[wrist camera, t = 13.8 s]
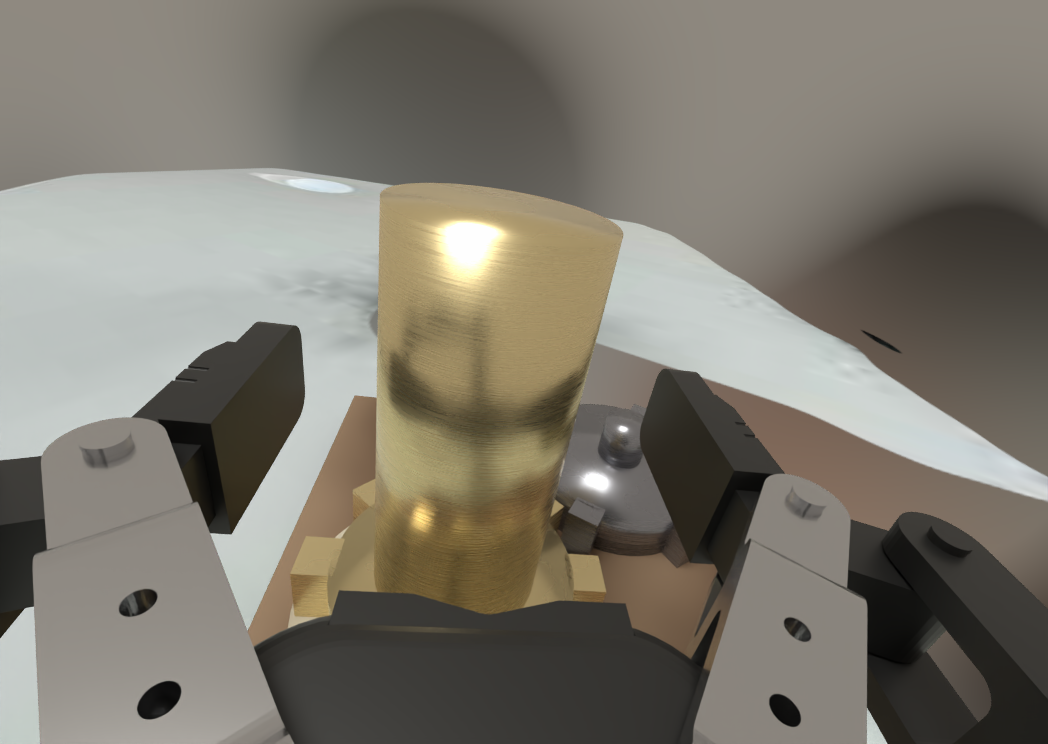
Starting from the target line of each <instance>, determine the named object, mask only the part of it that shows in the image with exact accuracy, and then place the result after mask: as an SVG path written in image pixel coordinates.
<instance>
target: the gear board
mask: <svg viewBox="0 0 1048 744" xmlns="http://www.w3.org/2000/svg"><path fill="white" fill-rule="evenodd" d="M376 412H377V398H374V397H364V396H354V398H353V401H352V403H351V405H350V407H349V409H348V412H347V414H346V416H345V418H344V420H343V423H342V425H341V427H340V429H339V431H338V434H337V436H336V438H335V440H334V442H333V445H332V447H331V449H330V451H329V453H328V456H327V458H326V460H325V462H324V464H323V467H322V469H321V471H320V473H319V475H318V478H317V480H316V482H315V484H314V486H313V489H312V491H311V493H310V495H309V497H308V500H307V502H306V504H305V506H304V508H303V511H302V513H301V515H300V517H299V519H298V522H297V524H296V526H295V528H294V530H293V533H292V535H291V537H290V539H289V541H288V544H287V546H286V548H285V550H284V552H283V555H282V557H281V559H280V561H279V563H278V566H277V568H276V570H275V572H274V574H273V577H272V579H271V581H270V583H269V585H268V588H267V590H266V592H265V594H264V596H263V599H262V601H261V603H260V605H259V607H258V610H257V612H256V614H255V616H254V618H253V621H252V623H251V625H250V627H249V629H248V634H249V637H250V639H251V642H252V645H253V647H254V646H255V645H257V644H258V643H260V642H262V641H263V640H265V639H267V638H269V637H271V636H273V635H275V634H277V633H278V632H280V631H283V630H285V629H288V628H290V627H292V626H295V625H297V624H299V623H303V622H306V621H309V620H312V619H316V618H319V617H300V616H295V615H294V606H293V597H292V588H291V579H290V573H291V570H292V568H293V566H294V563H295V561H296V558H297V556H298V554H299V551H300V549H301V547H302V544H303V542H304V540H305V537H306V536H310V537H325V538H340V539H341V537H342V536H343V534H344V533H345V531H346V530H347V529H348V527H349V526H350V525H351V524H352V523H353V489H355V488H357V487H359V486H361V485H363V484H366V483H368V482H370V481H372V480H374V479H375V473H376ZM557 534H558V535H559V537H560V539H561V536H562V532H561V531H560V530H558V531H557ZM567 553H568V552H567ZM590 555H594V556H598V557H599V562H600V566H601V570H602V575H603V579H604V584H605V588H606V595H605V597H604V600H603V602H605V603H626V607H627V610H628V614H629V618H630V622H631V625H632V628H635V629H638V630H640V631H643V632H645V633H648V634H650V635H652V636H655V637H657V638H658V639H660V640H662V641H664V642H666V643H668V644H670V645H671V646H673V647H674V648H676V649H677V650H679V651H680V652H682V653H683V654H685V651H686V649H687V646H688V643H689V641H690V638H691V635H692V633H693V630H694V627H695V625H696V622H697V619H698V617H699V614H700V612H701V609H702V606H703V604H704V601H705V598H706V596H707V593H708V590H709V588H710V585H711V583H712V581H713V579H714V577H715V575H716V573H717V569H716V567H715V565H714V564H698V563H690V562H687V563H685V564H683V565H682V566H680V567H678V568H676V567H675V566H674V565H673V564H672V563H671V562H670V561H669V560H668V559H667V558H666V557H665V556H664V555H663V554H662V553H658V554H654V555H647V556H625V555H616V554H612V553H607V552H603V551H600V550H597V549H594V548H593V549H592V551H591V553H590Z"/></svg>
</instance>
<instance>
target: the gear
mask: <svg viewBox="0 0 1048 744" xmlns="http://www.w3.org/2000/svg"><path fill="white" fill-rule="evenodd" d="M645 412H646V408H643V407H641V406H638V405H636V404H634V405H633V406H632V408H631V410H629V409H622V408H617V407H612V406H606V405H595V404H594V405H593V404H582V405H579V408H578V412H577V416H576V420H575V424H574V428H573V432H572V435H571V439H570V443H569V447H568V451H567V455H566V459H565V462H564V466H563V470H562V474H561V478H560V482H559V486H558V489H557V493H556V497H555V500H556V501H557V502H559V503H560V504H562V505H563V506H564V509H563V513H562V516H561V520H560V524H559V527H558V530H560V531H561V532H562V536H561V541H562V542H563V544H564V546H565V548H566V551H567V552H568V554H579V555H590V553H591V551H592V549H593V548H594V549H597V550H600V551H603V552H607V553H612V554H616V555H625V556H647V555H654V554H658V553H662V554H663V555H664V556H665V557H666V558H667V559H668V560H669V561H670V562H671V563H672V564H673V565H674V566H675V567H676V568H678V567H680V566H682V565H683V564H685V563H687V562H689V559H688V557H687V555H686V552H685V550H684V548H683V545H682V543H681V541H680V538H679V536H678V534H677V531H676V529H675V527H674V524H673V522H672V520H671V517H670V515H669V513H668V510H667V508H666V506H665V503H664V501H663V499H662V496H661V494H660V492H659V489H658V487H657V485H656V482H655V480H654V478H653V475H652V473H651V471H650V468H649V466H648V464H647V461H646V459H645V457H644V454H643V452H642V449H641V446H640V429H641V424H642V421H643V418H644V415H645Z"/></svg>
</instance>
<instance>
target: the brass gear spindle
mask: <svg viewBox="0 0 1048 744" xmlns="http://www.w3.org/2000/svg"><path fill="white" fill-rule="evenodd" d="M622 239H623V231H622V230H621V228H620V227H618V226H617V225H616V224H615V223H613V222H612V221H610V220H608V219H606V218H604V217H602V216H600V215H597V214H595V213H593V212H590V211H588V210H585V209H582V208H579V207H576V206H573V205H569V204H566V203H563V202H559V201H555V200H551V199H547V198H543V197H539V196H534V195H529V194H525V193H520V192H514V191H508V190H502V189H495V188H488V187H481V186H472V185H462V184H447V183H412V184H403V185H397V186H392V187H389V188H386V189H385V190H383V191H382V192H381V193H380V227H379V289H378V350H377V412H376V473H375V479H374V480H372V481H370V482H368V483H366V484H363V485H361V486H359V487H357V488H355V489H353V523H352V524H351V525H350V526H349V527H348V529H347V530H346V531H345V533H344V534H343V536H342V537H341V539H340V538H325V537H310V536H306V537H305V540H304V542H303V544H302V547H301V549H300V551H299V554H298V556H297V558H296V561H295V563H294V566H293V568H292V570H291V573H290V579H291V588H292V597H293V606H294V615H295V616H300V617H324V616H329V615H332V612H333V608H334V605H335V602H336V598H337V595H338V592H339V590H344V591H366V592H388V593H410V594H416V595H420V596H423V597H427V598H430V599H434V600H437V601H440V602H444V603H447V604H451V605H454V606H458V607H461V608H464V609H468V610H471V611H475V612H478V613H482V614H496V613H501V612H506V611H511V610H516V609H520V608H525V607H530V606H535V605H540V604H544V603H549V602H554V601H559V600H562V601H583V602H603V600H604V597H605V595H606V588H605V584H604V579H603V575H602V570H601V566H600V562H599V557H598V556H594V555H579V554H568V553H567V551H566V548H565V546H564V544H563V542H562V541H561V539H560V537H559V535H558V534H557V531H558V527H559V524H560V520H561V516H562V513H563V509H564V506H563V505H562V504H560V503H559V502H557V501H556V500H555V497H556V493H557V489H558V486H559V482H560V478H561V474H562V470H563V466H564V462H565V459H566V455H567V451H568V447H569V443H570V439H571V435H572V432H573V428H574V424H575V420H576V416H577V412H578V408H579V405H580V400H581V397H582V393H583V389H584V385H585V381H586V377H587V374H588V370H589V366H590V362H591V358H592V354H593V350H594V346H595V343H596V339H597V335H598V331H599V327H600V323H601V320H602V316H603V312H604V308H605V304H606V300H607V296H608V293H609V289H610V285H611V281H612V277H613V273H614V269H615V266H616V262H617V258H618V254H619V250H620V246H621V242H622Z"/></svg>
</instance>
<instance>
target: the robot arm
mask: <svg viewBox="0 0 1048 744" xmlns="http://www.w3.org/2000/svg"><path fill="white" fill-rule="evenodd" d="M304 398H305V384H304V370H303V355H302V341H301V333H300V330H299V328H298V327H297V326H294V325H285V324H276V323H267V322H256V323H255V324H254V325H253V326H252V327H251V328H250V329H249V330H248V331H247V332H246V333H245V334H244V335H243V336H242V337H241V338H240V339H239V340H238V341H237V342H228V341H227V342H225V343H223V344H221V345H218V346H216V347H214V348H212V349H209V350H207V351H205V352H203V353H202V354H201V355H200V356H199V357H198V358H197V359H195V360H194V361H193V362H192V363H191V364H190V365H189V366H188V369H184V370H183V371H182V372H181V373H180V374H179V375H178V376H177V377H176V379H175V381H171V382H170V383H169V384H168V385H167V386H166V387H165V388H163V389H162V390H161V391H160V392H159V393H158V394H157V395H156V396H155V397H154V398H152V399H151V400H150V401H149V402H148V403H147V404H146V405H145V406H144V407H142V408H141V409H140V410H139V411H138V412H137V413H136V414H135V415H134V416H133V417H131V418H115V419H108V420H102V421H98V422H94V423H91V424H88V425H85V426H82V427H79V428H77V429H74V430H72V431H70V432H68V433H66V434H64V435H63V436H61V437H59V438H58V439H56V440H55V441H54V442H53V443H51V444H50V445H49V446H48V447H47V449H46V450H45V451H44V453H43V455H42V456H38V457H29V458H20V459H10V460H1V461H0V638H1V637H2V635H3V634H4V633H5V632H6V631H7V629H8V628H9V627H10V626H11V625H12V623H13V622H14V621H15V620H16V618H17V617H18V616H19V615H20V614H21V612H22V611H23V610H24V609H25V608H28V607H33V606H34V614H35V637H36V660H37V683H38V706H39V729H40V744H867V708H868V710H869V712H870V713H871V715H872V717H873V719H874V720H875V722H876V724H877V726H878V727H879V729H880V731H881V733H882V734H883V736H884V738H885V740H886V742H887V743H888V744H1048V609H1047V608H1046V607H1045V606H1044V605H1043V604H1042V603H1041V602H1040V601H1039V600H1038V599H1037V598H1036V597H1035V596H1034V595H1033V594H1032V593H1031V592H1030V591H1029V590H1028V589H1027V588H1026V587H1024V585H1022V583H1021V582H1019V581H1018V580H1017V579H1016V578H1015V577H1014V576H1013V575H1012V574H1011V573H1010V572H1009V571H1008V570H1007V569H1006V568H1005V567H1004V566H1003V565H1002V564H1001V563H1000V562H999V561H998V560H997V559H996V558H995V557H994V556H993V555H992V554H991V553H989V551H988V550H987V549H985V548H984V547H983V546H982V545H981V544H980V543H979V542H977V541H976V540H975V539H974V538H972V537H971V536H969V535H968V534H967V533H965V532H964V531H962V530H960V529H959V528H957V527H955V526H953V525H952V524H950V523H948V522H945V521H943V520H941V519H939V518H936V517H933V516H931V515H927V514H923V513H918V512H907V513H903V514H902V515H900V516H899V518H898V519H897V520H896V522H895V523H894V524H893V526H892V527H891V528H890V530H889V531H887V530H883V529H880V528H877V527H874V526H870V525H867V524H864V523H861V522H857V521H854V520H851V519H850V516H849V513H848V512H847V510H846V508H845V507H844V506H843V504H842V503H841V502H840V501H839V500H838V499H837V498H836V497H835V496H833V495H832V494H831V493H829V492H828V491H827V490H825V489H824V488H822V487H820V486H819V485H817V484H815V483H813V482H811V481H809V480H806V479H804V478H801V477H798V476H794V475H789V474H785V473H784V472H783V470H782V469H781V468H780V467H779V465H778V464H777V463H776V461H775V460H774V459H773V458H772V456H771V455H770V454H769V452H768V451H767V450H766V449H765V447H764V446H763V445H762V443H761V442H760V441H759V440H758V439H757V438H755V435H754V433H753V432H752V431H751V429H750V428H749V427H748V426H745V424H746V423H745V422H744V420H743V419H742V418H741V416H740V415H739V414H738V413H737V411H736V410H735V409H734V408H733V407H732V406H730V405H729V404H727V403H726V402H724V401H723V400H722V399H721V398H719V397H718V396H717V395H714V394H713V393H712V391H711V390H710V389H709V387H708V386H707V385H706V383H705V382H704V381H703V379H702V378H701V377H700V375H699V374H698V373H696V372H690V371H681V370H673V369H663V370H662V371H661V372H660V373H659V375H658V377H657V379H656V383H655V386H654V388H653V391H652V394H651V397H650V400H649V403H648V406H647V409H646V412H645V415H644V418H643V421H642V424H641V429H640V446H641V449H642V452H643V454H644V457H645V459H646V461H647V464H648V466H649V468H650V471H651V473H652V475H653V478H654V480H655V482H656V485H657V487H658V489H659V492H660V494H661V496H662V499H663V501H664V503H665V506H666V508H667V510H668V513H669V515H670V517H671V520H672V522H673V524H674V527H675V529H676V531H677V534H678V536H679V538H680V541H681V543H682V545H683V548H684V550H685V552H686V555H687V557H688V559H689V562H690V563H698V564H714V565H715V567H716V569H717V573H716V575H715V577H714V579H713V581H712V583H711V585H710V588H709V590H708V593H707V596H706V598H705V601H704V604H703V606H702V609H701V612H700V614H699V617H698V619H697V622H696V625H695V627H694V630H693V633H692V635H691V638H690V641H689V643H688V646H687V649H686V651H685V654H683V653H682V652H680V651H679V650H677V649H676V648H674V647H673V646H671V645H670V644H668V643H666V642H664V641H662V640H660V639H658V638H657V637H655V636H652V635H650V634H648V633H645V632H643V631H640V630H638V629H635V628H632V625H631V622H630V618H629V614H628V610H627V607H626V603H605V602H583V601H562V600H559V601H554V602H549V603H544V604H540V605H535V606H530V607H525V608H520V609H516V610H511V611H506V612H501V613H496V614H482V613H478V612H475V611H471V610H468V609H464V608H461V607H458V606H454V605H451V604H447V603H444V602H440V601H437V600H434V599H430V598H427V597H423V596H420V595H416V594H410V593H388V592H366V591H344V590H339V592H338V595H337V598H336V602H335V605H334V608H333V612H332V615H329V616H324V617H319V618H316V619H312V620H309V621H306V622H303V623H299V624H297V625H295V626H292V627H290V628H288V629H285V630H283V631H280V632H278V633H277V634H275V635H273V636H271V637H269V638H267V639H265V640H263V641H262V642H260V643H258V644H257V645H255V646H254V647H253V645H252V642H251V639H250V637H249V634H248V631H247V629H246V626H245V624H244V621H243V618H242V616H241V613H240V611H239V608H238V605H237V603H236V600H235V597H234V595H233V592H232V590H231V587H230V584H229V582H228V579H227V577H226V574H225V571H224V569H223V566H222V563H221V561H220V558H219V556H218V553H217V550H216V548H215V545H214V543H213V540H212V537H211V535H210V533H217V534H232V532H233V531H234V529H235V527H236V526H237V524H238V522H239V520H240V519H241V517H242V515H243V514H244V512H245V510H246V508H247V507H248V505H249V503H250V502H251V500H252V498H253V496H254V495H255V493H256V491H257V490H258V488H259V486H260V484H261V483H262V481H263V479H264V478H265V476H266V474H267V472H268V471H269V469H270V467H271V466H272V464H273V462H274V460H275V459H276V457H277V455H278V454H279V452H280V450H281V449H282V447H283V445H284V443H285V442H286V440H287V438H288V437H289V435H290V433H291V431H292V430H293V428H294V426H295V425H296V423H297V421H298V419H299V417H300V415H301V412H302V409H303V405H304ZM946 630H947V631H948V633H949V634H950V635H951V636H952V637H953V639H954V640H955V641H956V643H957V644H958V645H959V646H960V647H961V649H962V650H963V651H964V653H965V654H966V655H967V656H968V658H969V659H970V660H971V661H972V663H973V664H974V665H975V666H976V668H977V669H978V670H979V671H980V673H981V674H982V675H983V677H984V678H985V680H986V682H987V685H988V687H989V690H990V693H991V700H992V701H991V708H990V711H989V713H988V714H987V715H986V716H985V717H984V718H983V719H982V720H981V721H980V722H978V721H977V720H976V719H975V717H974V716H973V715H972V713H971V712H970V710H969V709H968V708H967V706H966V705H965V704H964V702H963V701H962V699H961V698H960V697H959V695H958V694H957V693H956V692H955V690H954V689H953V687H952V686H951V684H950V683H949V682H948V680H947V679H946V678H945V677H944V675H943V673H942V672H941V671H940V670H939V668H938V667H937V665H936V664H935V662H934V661H933V660H932V658H931V657H930V656H929V654H928V653H927V652H926V651H927V650H928V649H929V648H930V647H931V646H932V645H933V644H934V643H935V642H936V641H937V639H938V638H939V637H940V636H941V635H942V634H943V633H944V632H945V631H946Z"/></svg>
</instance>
